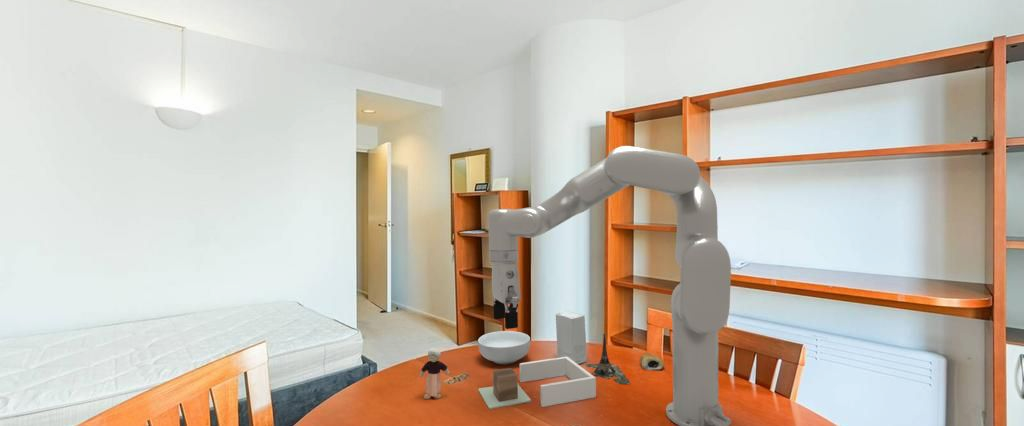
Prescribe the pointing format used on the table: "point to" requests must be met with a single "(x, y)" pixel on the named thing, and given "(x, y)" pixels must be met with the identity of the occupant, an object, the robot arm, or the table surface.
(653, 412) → the table surface
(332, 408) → the table surface
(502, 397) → the walnut block
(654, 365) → the pastry
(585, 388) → the open side box
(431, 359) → the grandmother figurine
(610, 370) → the eiffel tower figurine
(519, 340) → the cereal bowl
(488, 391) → the sage mat
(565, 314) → the skincare box
